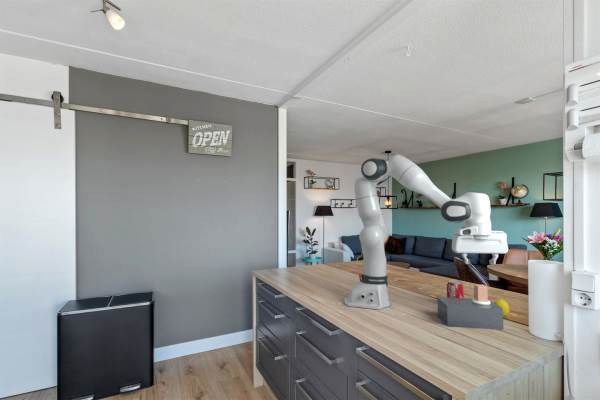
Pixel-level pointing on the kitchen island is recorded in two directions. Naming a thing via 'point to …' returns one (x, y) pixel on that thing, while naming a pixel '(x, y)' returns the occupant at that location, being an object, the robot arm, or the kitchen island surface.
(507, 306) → the lemon
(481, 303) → the pink white square peg
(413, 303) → the kitchen island surface
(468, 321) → the block
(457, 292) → the soda can
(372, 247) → the robot arm
